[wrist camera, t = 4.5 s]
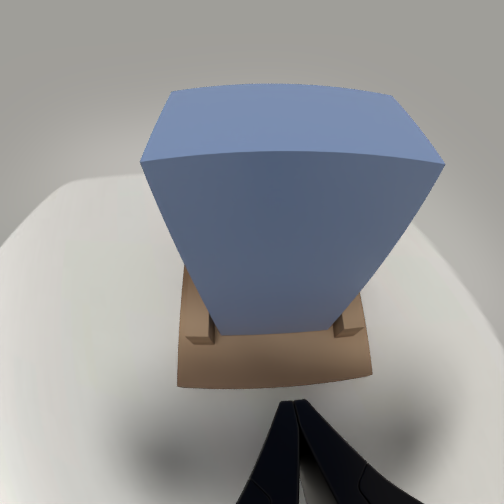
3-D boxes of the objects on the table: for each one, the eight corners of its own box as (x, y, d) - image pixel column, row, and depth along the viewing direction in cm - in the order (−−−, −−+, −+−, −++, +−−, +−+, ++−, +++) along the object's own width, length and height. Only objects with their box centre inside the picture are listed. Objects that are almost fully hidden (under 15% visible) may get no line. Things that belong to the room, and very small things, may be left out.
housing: (366, 376, 14) (406, 363, 10) (181, 387, 14) (150, 380, 10) (335, 213, 20) (350, 165, 16) (193, 218, 20) (179, 169, 16)
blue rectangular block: (327, 329, 15) (445, 164, 4) (221, 335, 15) (139, 162, 4) (321, 282, 16) (391, 95, 6) (221, 286, 16) (172, 91, 6)
